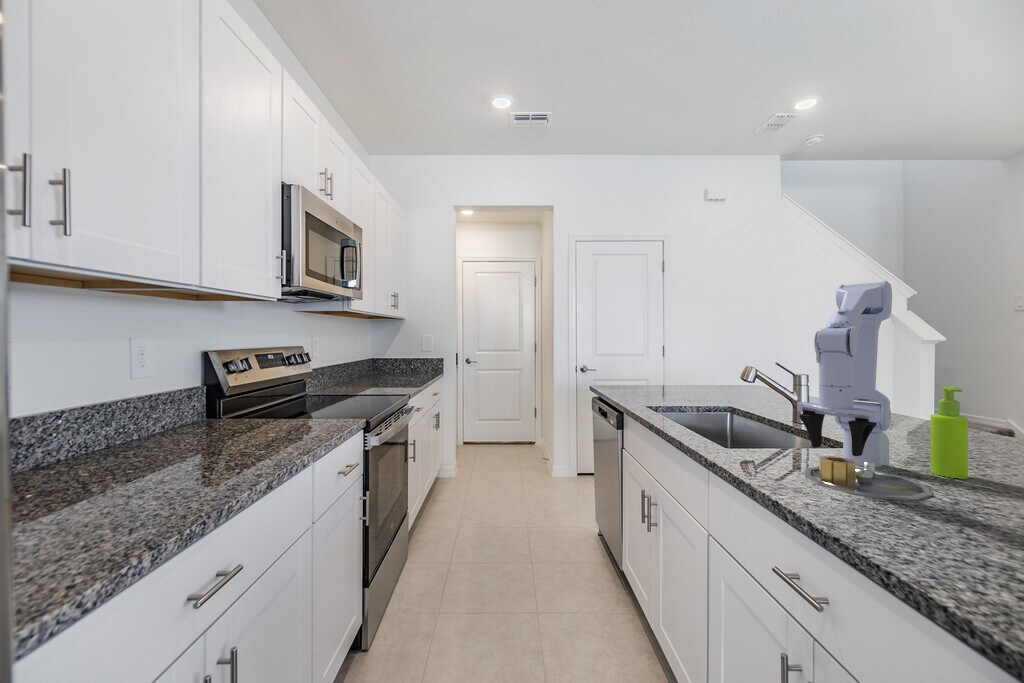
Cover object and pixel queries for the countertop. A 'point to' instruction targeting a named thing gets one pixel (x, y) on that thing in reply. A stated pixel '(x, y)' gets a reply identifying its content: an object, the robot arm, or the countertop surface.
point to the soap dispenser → (949, 437)
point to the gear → (837, 470)
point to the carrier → (877, 484)
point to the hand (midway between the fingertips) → (836, 451)
